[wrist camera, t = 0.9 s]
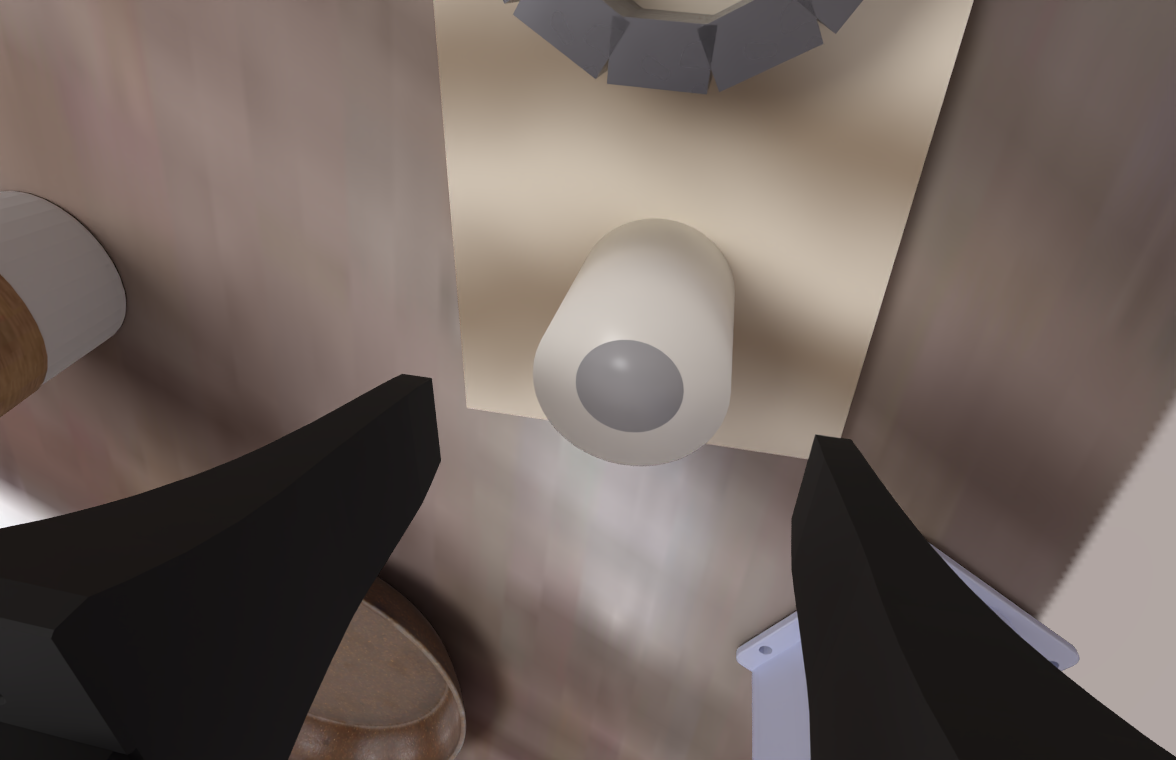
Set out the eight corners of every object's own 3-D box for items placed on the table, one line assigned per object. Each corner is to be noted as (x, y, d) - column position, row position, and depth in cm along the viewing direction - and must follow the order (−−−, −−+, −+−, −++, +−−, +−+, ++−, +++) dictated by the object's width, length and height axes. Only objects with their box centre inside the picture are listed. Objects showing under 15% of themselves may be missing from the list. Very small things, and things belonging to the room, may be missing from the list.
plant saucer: (527, 600, 29) (505, 660, 26) (444, 770, 39) (423, 825, 36) (155, 447, 29) (98, 493, 26) (168, 657, 39) (127, 705, 36)
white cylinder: (669, 386, 20) (649, 495, 16) (552, 303, 19) (498, 395, 15) (769, 283, 18) (775, 380, 14) (638, 184, 17) (604, 255, 13)
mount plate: (829, 443, 21) (832, 463, 20) (477, 391, 23) (466, 407, 22) (1122, -551, 10) (1154, -595, 10) (413, -498, 12) (388, -531, 11)
